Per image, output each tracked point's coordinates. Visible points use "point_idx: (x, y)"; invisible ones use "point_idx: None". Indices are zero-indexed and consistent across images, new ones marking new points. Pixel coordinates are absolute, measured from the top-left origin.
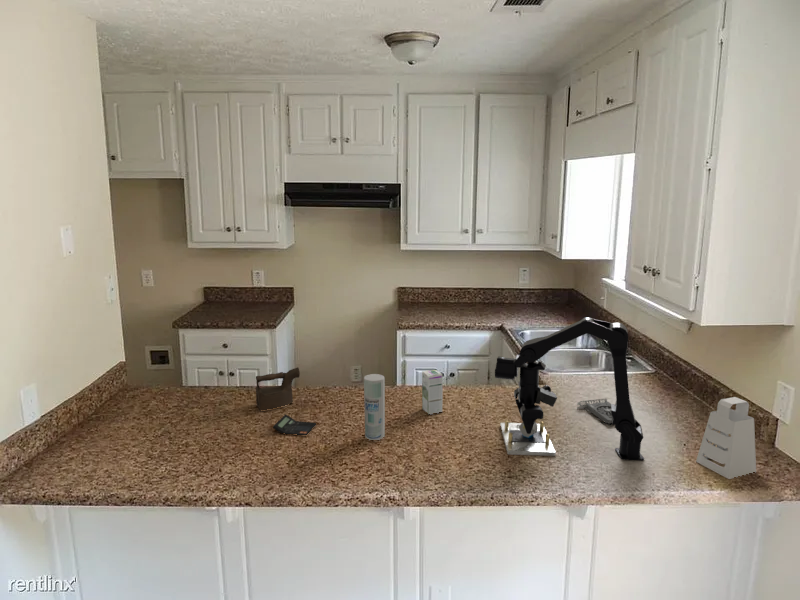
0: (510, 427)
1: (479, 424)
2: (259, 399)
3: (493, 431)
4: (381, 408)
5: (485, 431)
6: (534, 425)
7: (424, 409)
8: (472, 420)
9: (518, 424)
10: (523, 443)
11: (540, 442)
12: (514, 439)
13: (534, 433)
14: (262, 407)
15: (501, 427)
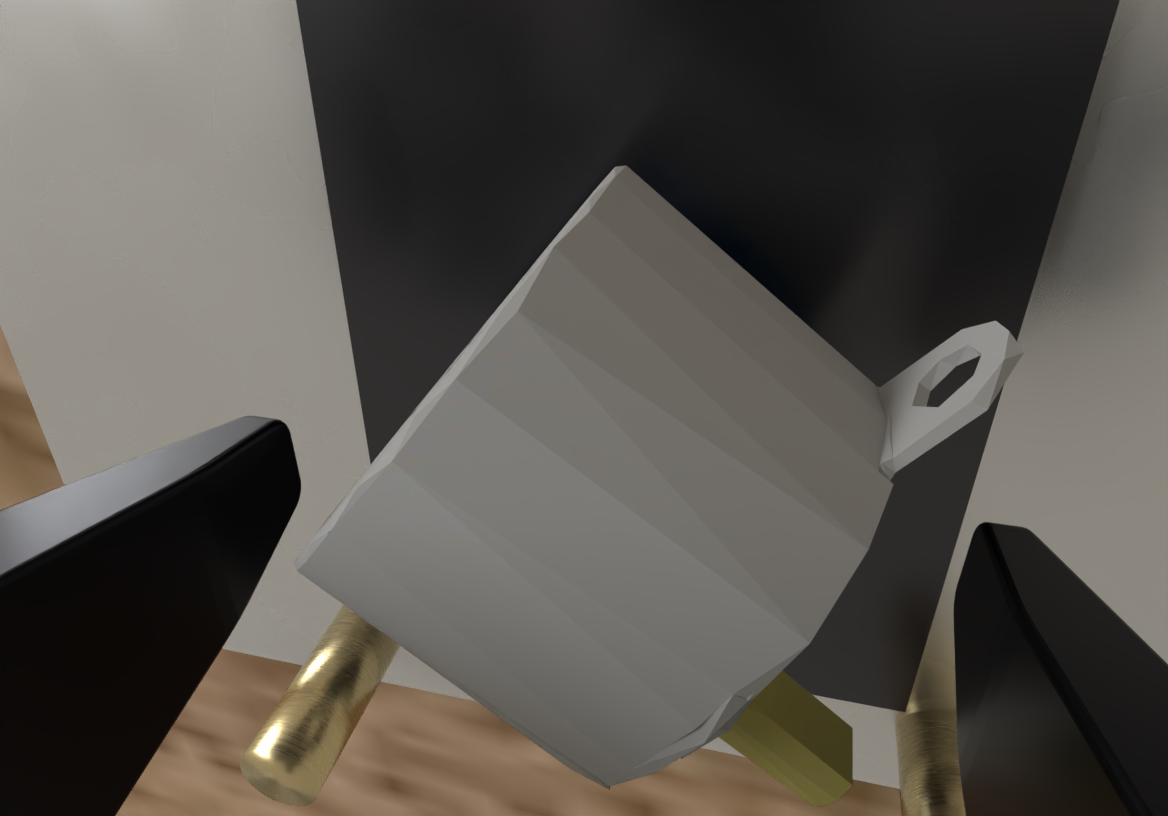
0: None
1: (208, 782)
2: None
3: (378, 712)
4: None
5: (400, 790)
6: (702, 419)
7: None
8: (125, 807)
9: (79, 373)
10: (1035, 533)
11: (1088, 87)
12: (830, 652)
13: (954, 360)
14: None
15: (283, 649)
